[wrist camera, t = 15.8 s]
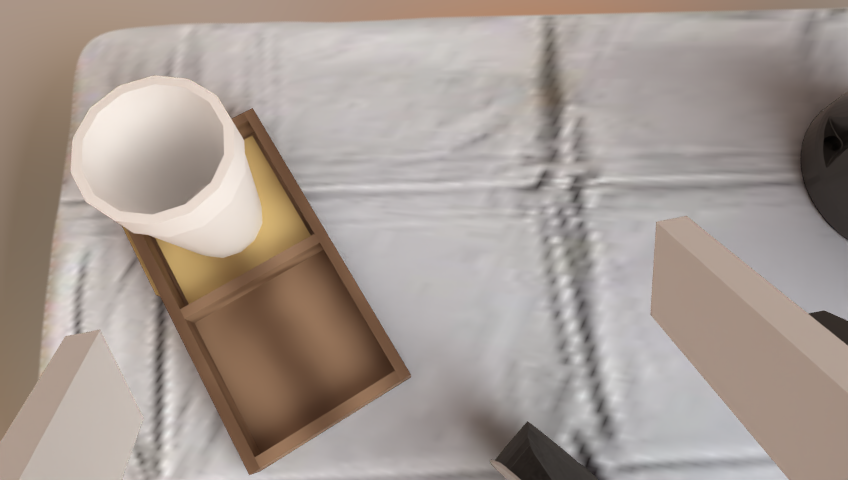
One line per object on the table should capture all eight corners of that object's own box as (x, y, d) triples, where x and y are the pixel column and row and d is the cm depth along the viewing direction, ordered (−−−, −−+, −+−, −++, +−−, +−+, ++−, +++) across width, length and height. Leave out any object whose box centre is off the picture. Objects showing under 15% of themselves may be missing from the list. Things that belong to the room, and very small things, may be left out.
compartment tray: (261, 124, 51) (252, 108, 48) (410, 377, 45) (410, 374, 42) (118, 198, 49) (100, 186, 46) (256, 473, 43) (245, 477, 40)
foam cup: (136, 236, 47) (35, 169, 34) (210, 144, 49) (140, 50, 37) (235, 300, 45) (167, 254, 33) (306, 202, 48) (267, 125, 35)
